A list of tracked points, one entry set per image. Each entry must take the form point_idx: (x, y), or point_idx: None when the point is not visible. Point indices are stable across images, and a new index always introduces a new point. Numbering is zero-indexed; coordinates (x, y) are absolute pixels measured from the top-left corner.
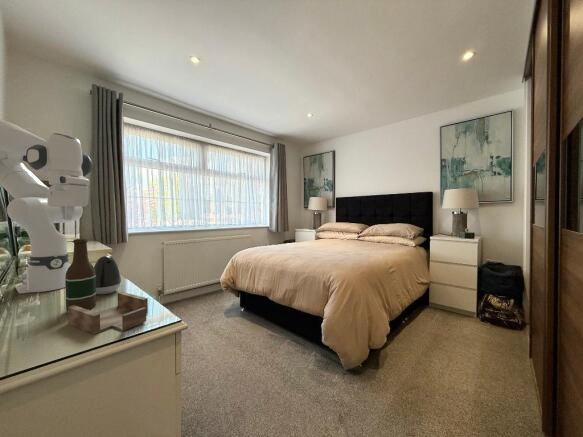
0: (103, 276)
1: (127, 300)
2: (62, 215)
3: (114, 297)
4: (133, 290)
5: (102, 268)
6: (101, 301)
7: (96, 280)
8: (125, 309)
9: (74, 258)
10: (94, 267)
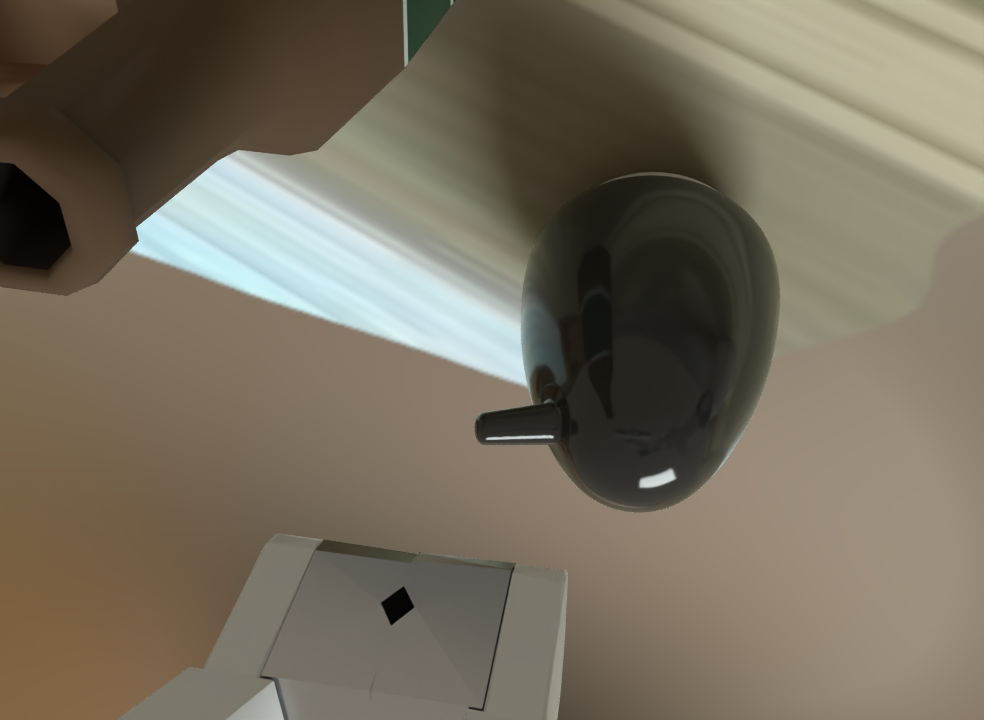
0: (545, 277)
1: (5, 87)
2: (501, 676)
3: (447, 195)
4: (492, 350)
5: (562, 331)
6: (436, 96)
7: (593, 222)
8: (43, 50)
9: (144, 6)
10: (661, 315)
